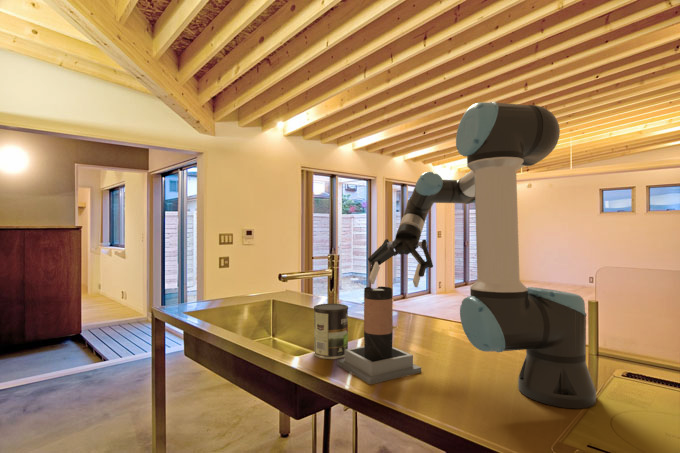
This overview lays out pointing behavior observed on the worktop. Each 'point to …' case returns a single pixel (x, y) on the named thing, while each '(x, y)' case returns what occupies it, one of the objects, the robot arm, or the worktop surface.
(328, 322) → the coffee can
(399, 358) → the dock
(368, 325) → the travel mug
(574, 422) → the worktop surface
